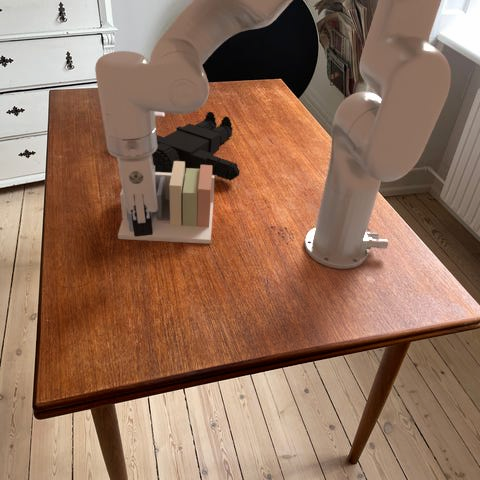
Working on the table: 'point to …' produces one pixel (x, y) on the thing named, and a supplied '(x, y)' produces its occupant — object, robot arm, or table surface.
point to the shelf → (165, 225)
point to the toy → (196, 147)
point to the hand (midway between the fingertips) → (143, 232)
